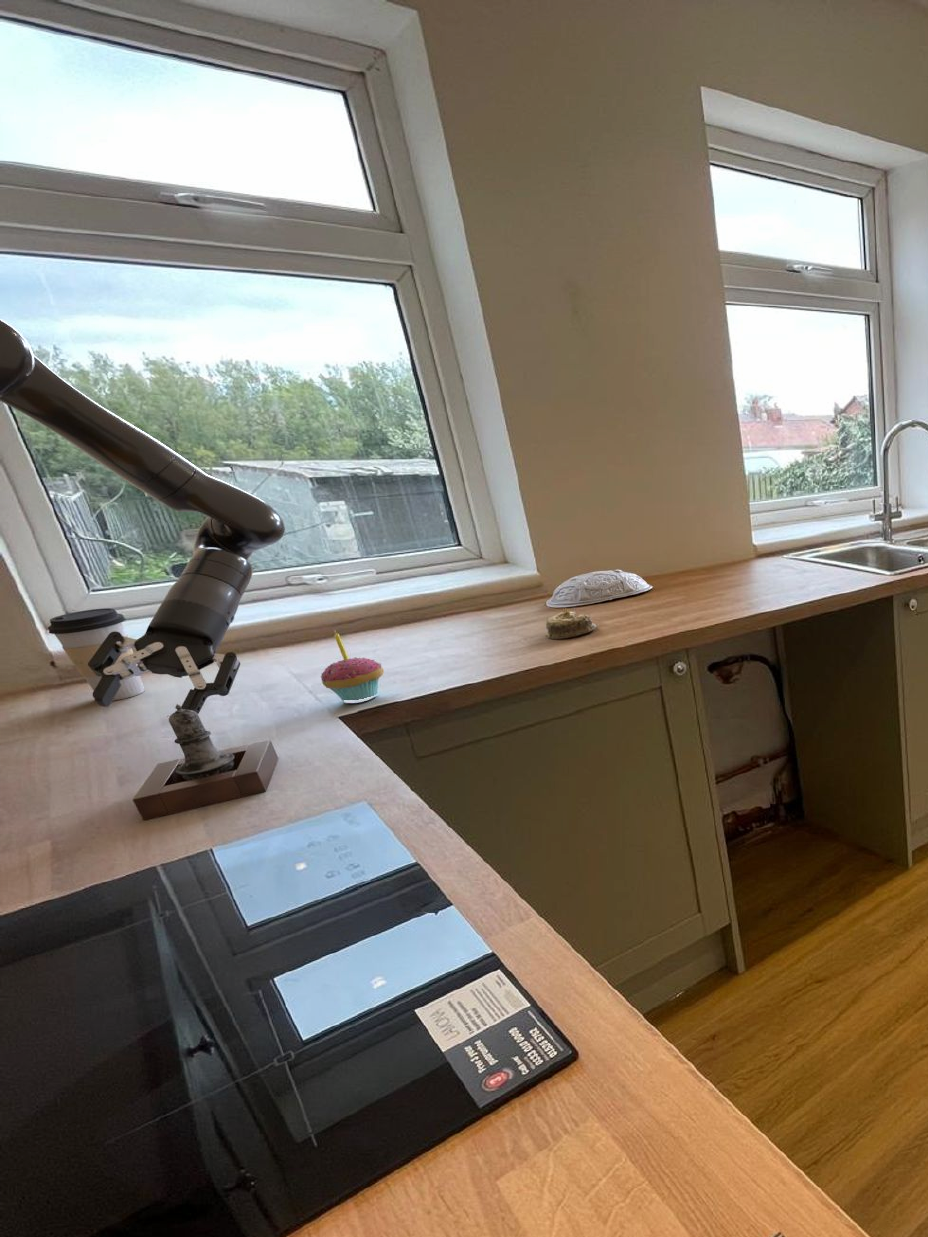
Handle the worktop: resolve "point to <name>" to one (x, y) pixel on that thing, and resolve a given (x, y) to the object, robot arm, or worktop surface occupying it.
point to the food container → (596, 588)
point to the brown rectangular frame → (206, 782)
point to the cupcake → (352, 676)
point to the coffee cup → (92, 643)
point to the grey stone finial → (197, 747)
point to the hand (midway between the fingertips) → (143, 710)
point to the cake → (568, 625)
